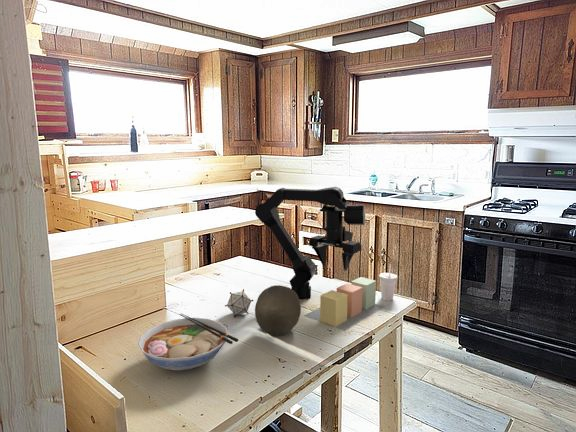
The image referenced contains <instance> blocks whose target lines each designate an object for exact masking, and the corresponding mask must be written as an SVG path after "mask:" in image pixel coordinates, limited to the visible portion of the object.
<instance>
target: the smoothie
mask: <svg viewBox="0 0 576 432" xmlns="http://www.w3.org/2000/svg"><path fill="white" fill-rule="evenodd" d="M388 268H389V270H388V272H382V273H379V276H378V279H379V283H380V293H381V299H382V300H384V301H393V300H394V296H395V291H396V290H395V289H396V284H397V280H398V274H395V273H392V272H391V271H392V264H391V263H389V267H388Z"/></svg>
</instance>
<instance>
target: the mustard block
mask: <svg viewBox="0 0 576 432" xmlns="http://www.w3.org/2000/svg"><path fill="white" fill-rule="evenodd" d="M319 297H320V299H319V301H320V304H319V305H320V307H319V308H320V321H322V322H324V323H323V324H325V323H327V324H330V325H333V326H335V327H334V328H336V326H338V325H340V324H341V323H343V322H345V321H347V297H348V295H347V294H343V293H340V292H337V290H333V289H331V290H329V291H327V292H325V293H323V294H320V296H319ZM322 322H321V323H322ZM327 324H326V325H327ZM330 325H329V326H330ZM333 326H332V327H333Z"/></svg>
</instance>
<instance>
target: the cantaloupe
mask: <svg viewBox="0 0 576 432" xmlns="http://www.w3.org/2000/svg"><path fill="white" fill-rule="evenodd" d="M301 307H302V306H301V301H300V300H299V297H298V295H297V294H296V293H295V291H294V290H292V289H291V287H288V286H285V285H281V284H277V285H271V286H268V287H267V288H265V289H263V290H262V291H261V293H260V294H259V295H258V297H257V300H256V303H255V307H254V314H255V315H254V316H255V320H256V322H257V325H258V326H259V328H260V329H261V330H262V331H263V332H265V334H267V335H269V336H273V337H274V336H282V335H283V336H284V335H285V334H288V333H289V332H290V331H292V330H293V329H294V328H295V326H296V325H297V324H298V322H299V320H300V316H301V310H302V308H301Z"/></svg>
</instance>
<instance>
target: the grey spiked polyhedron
mask: <svg viewBox="0 0 576 432" xmlns="http://www.w3.org/2000/svg"><path fill="white" fill-rule="evenodd" d="M244 291H245V289H244V288H243V289H242V291H238V292H234V293H233V292H231V291H229V294H230V296H229V299H228V301H227V304H225V305H224V307H227V308H228V309H229V310H230V311H231V313H232V314H233V318H236V316H237V315H238V316H239V315H241V314H242V315H243V314H245V313H246V314H247V315H249V308H250V305H251V304H252V302H254V299H251V298H250V297H249V296H248V295H247V294H246V293H245V292H244Z"/></svg>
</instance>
